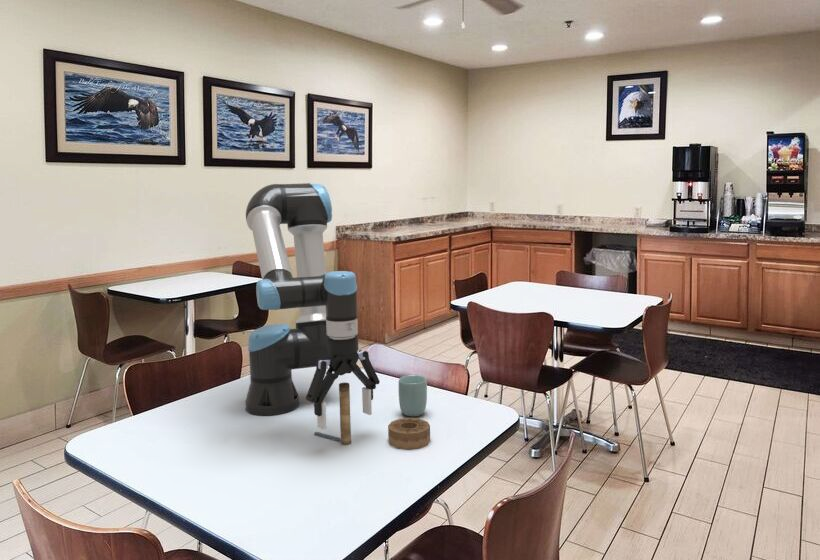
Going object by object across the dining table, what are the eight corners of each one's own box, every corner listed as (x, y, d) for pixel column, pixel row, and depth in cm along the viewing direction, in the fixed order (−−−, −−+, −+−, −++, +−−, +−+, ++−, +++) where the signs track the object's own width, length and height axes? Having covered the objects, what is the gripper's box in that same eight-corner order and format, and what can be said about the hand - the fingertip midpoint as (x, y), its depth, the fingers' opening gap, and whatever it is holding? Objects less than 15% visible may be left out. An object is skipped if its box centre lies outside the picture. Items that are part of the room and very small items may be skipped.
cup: (424, 420, 168) (424, 384, 167) (396, 418, 170) (395, 383, 168) (429, 409, 176) (428, 375, 174) (402, 408, 177) (401, 374, 176)
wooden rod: (338, 442, 154) (336, 384, 152) (347, 439, 156) (345, 381, 154) (344, 445, 153) (342, 386, 150) (353, 442, 154) (351, 384, 152)
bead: (380, 440, 155) (380, 425, 155) (410, 429, 162) (410, 415, 161) (407, 452, 148) (407, 436, 147) (437, 441, 154) (437, 425, 154)
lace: (314, 434, 160) (314, 432, 160) (316, 433, 160) (316, 431, 160) (338, 441, 155) (338, 439, 155) (340, 440, 156) (340, 437, 156)
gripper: (306, 348, 139) (310, 438, 142) (392, 329, 156) (393, 411, 159) (288, 342, 145) (293, 429, 148) (373, 325, 161) (375, 404, 164)
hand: (345, 420), depth 153 cm, fingers open, 13 cm apart
